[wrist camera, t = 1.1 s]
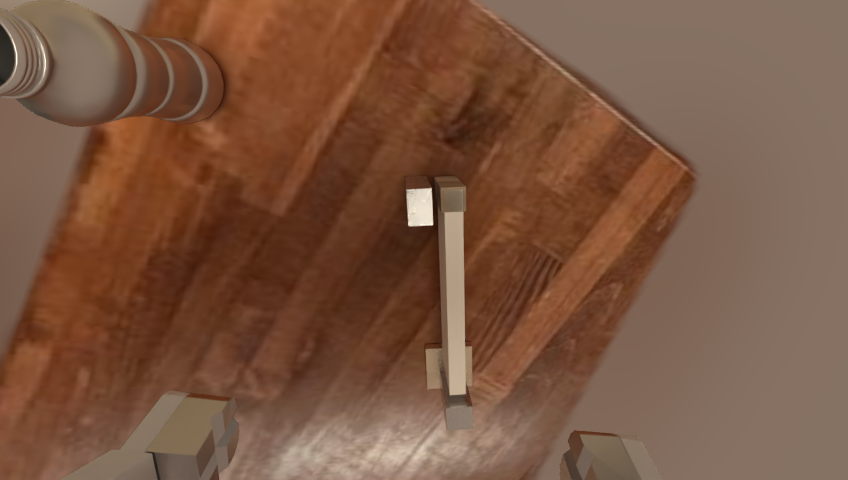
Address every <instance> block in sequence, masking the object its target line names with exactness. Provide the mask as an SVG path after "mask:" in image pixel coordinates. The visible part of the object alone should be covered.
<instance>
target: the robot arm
mask: <svg viewBox="0 0 848 480" xmlns="http://www.w3.org/2000/svg"><path fill="white" fill-rule="evenodd" d="M236 411H237V404H236V399H234V398H229V397H221V396H213V395H205V394H197V393H186V392H178V391H168V392H167V393H165V394H163V395H162V396H161V398H160V399H159V400H158V401H157V403H156V404H155V405H154V406H153V408H152V409H151V410H150V411H149V413H148V414H147V415H146V417H145V418H144V419H143V420H142V422H141V423H140V424H139V425H138V427H137V428H136V429H135V430H134V432H133V433H132V434H131V435H130V437H129V438H128V439H127V441H126V442H125V443H124V444H123V446H122V447H121V448H120V449H119V450H110V451H109V452H107V453H105V454H103V455H102V456H100V457H98V458H97V459H95V460H93V461H91V462H90V463H88V464H86V465H84V466H83V467H81V468H79V469H78V470H76V471H74V472H72V473H71V474H69V475H67V476H65V477H64V478H62V479H60V480H219V473H220V472H221V471H223V470H224V469H225V468H227V467H228V466H229V464H230V462H231V460H232V458H233V456H234V454H235V450H236V447H237V443H238V438H239V423H238V422H237V421H236V420H235V419H234V418H233V417H234V415H235V413H236ZM568 443H569V446H570V450H569V451H567V452H566V453H564V454H563V456H562V460H561V463H560V480H662V478H661V477H660V475H659V473H658V471H657V469H656V467H655V466H654V464H653V462H652V460H651V458H650V457H649V455H648V453H647V451H646V449H645V447H644V446H643V444H642V442H641V440H640V439H639V438H638V437H637V436H631V435H620V434H610V433H599V432H587V431H576V430H575V431H573V432H572V433H571V434H570V437H569V439H568Z"/></svg>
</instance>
